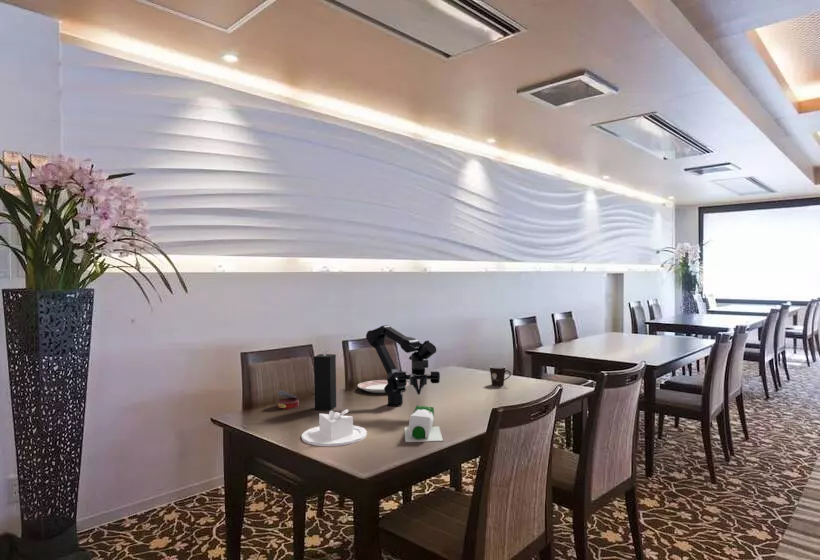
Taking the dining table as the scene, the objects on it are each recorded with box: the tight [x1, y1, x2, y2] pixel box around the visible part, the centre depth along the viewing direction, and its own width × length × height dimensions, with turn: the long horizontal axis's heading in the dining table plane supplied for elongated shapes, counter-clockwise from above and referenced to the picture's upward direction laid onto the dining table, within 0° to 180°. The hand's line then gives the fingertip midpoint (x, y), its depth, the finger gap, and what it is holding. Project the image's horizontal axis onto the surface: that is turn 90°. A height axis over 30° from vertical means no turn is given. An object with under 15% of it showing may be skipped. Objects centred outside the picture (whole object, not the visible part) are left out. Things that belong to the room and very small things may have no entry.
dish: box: [301, 408, 368, 447], centre depth 206 cm, size 25×25×11 cm
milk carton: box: [408, 404, 435, 439], centre depth 208 cm, size 9×9×20 cm
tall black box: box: [313, 347, 337, 411], centre depth 248 cm, size 8×8×28 cm
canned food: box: [277, 390, 300, 410], centre depth 253 cm, size 11×10×10 cm
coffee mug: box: [489, 365, 512, 387], centre depth 293 cm, size 12×9×10 cm
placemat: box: [403, 425, 444, 443], centre depth 207 cm, size 18×14×1 cm
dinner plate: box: [357, 379, 410, 394], centre depth 287 cm, size 28×27×3 cm
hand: (418, 394), depth 230 cm, fingers closed
